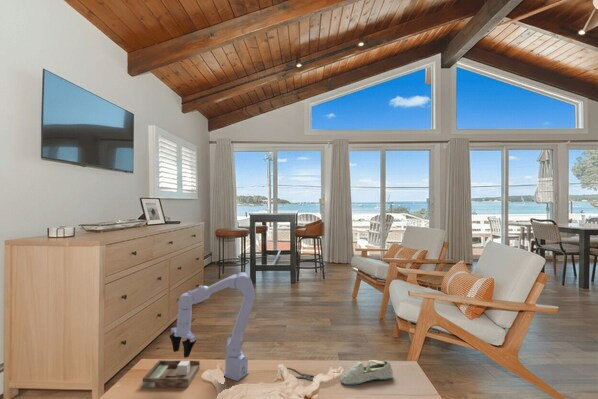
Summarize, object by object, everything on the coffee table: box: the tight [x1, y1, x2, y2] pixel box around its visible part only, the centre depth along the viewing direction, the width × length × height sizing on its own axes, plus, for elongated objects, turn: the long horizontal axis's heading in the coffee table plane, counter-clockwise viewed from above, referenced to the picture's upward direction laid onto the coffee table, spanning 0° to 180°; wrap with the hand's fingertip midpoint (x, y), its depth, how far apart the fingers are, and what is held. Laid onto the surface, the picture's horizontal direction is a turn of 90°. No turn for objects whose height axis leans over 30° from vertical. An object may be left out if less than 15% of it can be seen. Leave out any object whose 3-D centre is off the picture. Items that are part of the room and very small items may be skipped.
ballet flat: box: [340, 359, 394, 386], centre depth 142 cm, size 9×24×8 cm, turn 105°
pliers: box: [287, 367, 315, 382], centre depth 146 cm, size 10×1×20 cm
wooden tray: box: [142, 359, 201, 388], centre depth 142 cm, size 18×16×4 cm
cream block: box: [177, 360, 191, 375], centre depth 142 cm, size 4×4×4 cm
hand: (181, 353), depth 141 cm, fingers open, 7 cm apart
